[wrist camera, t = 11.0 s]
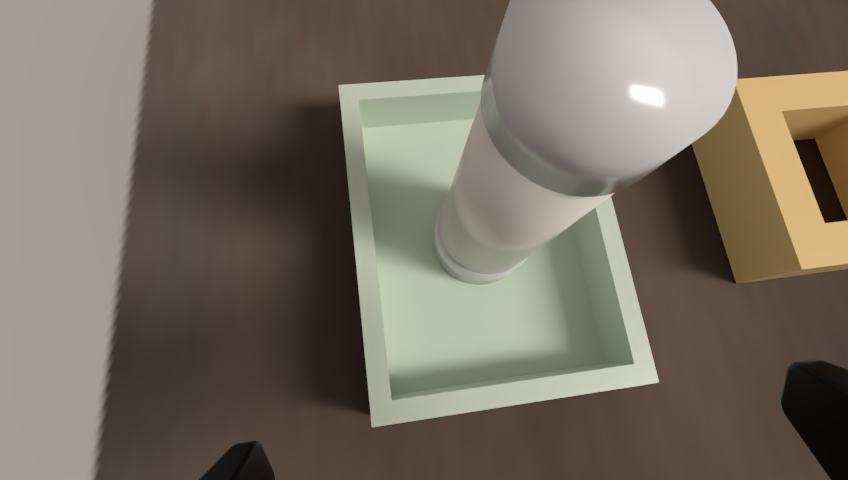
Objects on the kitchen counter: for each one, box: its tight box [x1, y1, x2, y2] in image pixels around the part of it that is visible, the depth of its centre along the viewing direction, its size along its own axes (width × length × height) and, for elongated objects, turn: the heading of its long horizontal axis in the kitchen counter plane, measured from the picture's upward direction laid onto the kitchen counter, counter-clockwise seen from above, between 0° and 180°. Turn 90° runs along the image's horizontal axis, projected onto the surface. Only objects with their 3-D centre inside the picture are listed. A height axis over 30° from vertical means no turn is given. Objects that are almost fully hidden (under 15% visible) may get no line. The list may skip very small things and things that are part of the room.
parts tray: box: [339, 75, 659, 427], centre depth 19 cm, size 14×11×3 cm
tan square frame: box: [692, 71, 848, 284], centre depth 21 cm, size 9×9×4 cm
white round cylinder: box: [432, 0, 737, 285], centre depth 14 cm, size 4×4×13 cm
